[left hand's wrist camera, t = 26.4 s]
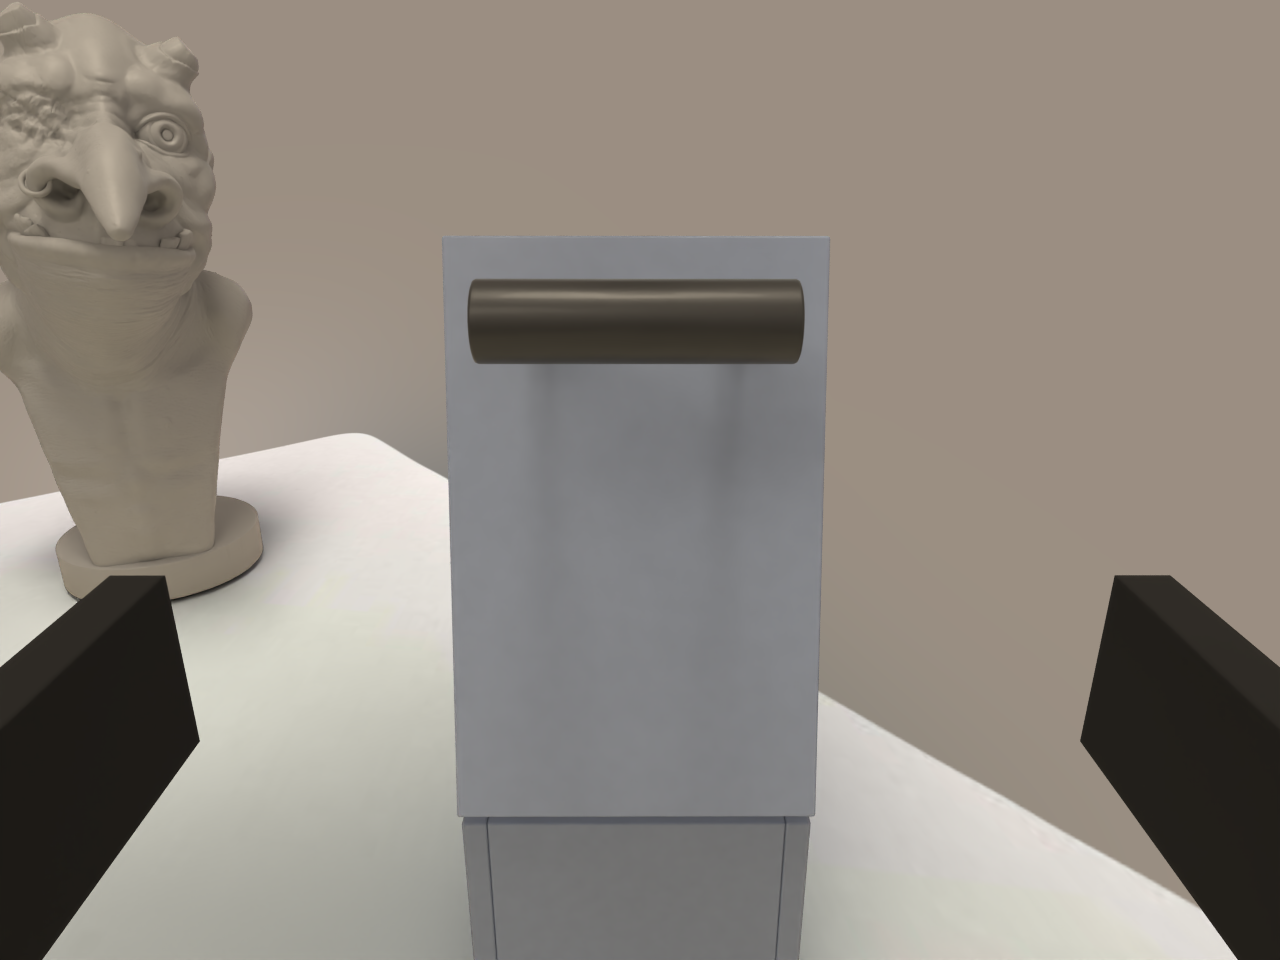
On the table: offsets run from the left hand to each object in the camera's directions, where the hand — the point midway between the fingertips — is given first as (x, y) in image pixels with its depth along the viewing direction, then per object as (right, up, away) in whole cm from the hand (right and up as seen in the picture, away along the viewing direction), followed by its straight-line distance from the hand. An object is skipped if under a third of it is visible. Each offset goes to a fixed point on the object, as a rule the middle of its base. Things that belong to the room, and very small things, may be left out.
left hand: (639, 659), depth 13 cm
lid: (0, +1, +12) cm, 12 cm away
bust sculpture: (-31, -4, +50) cm, 58 cm away
